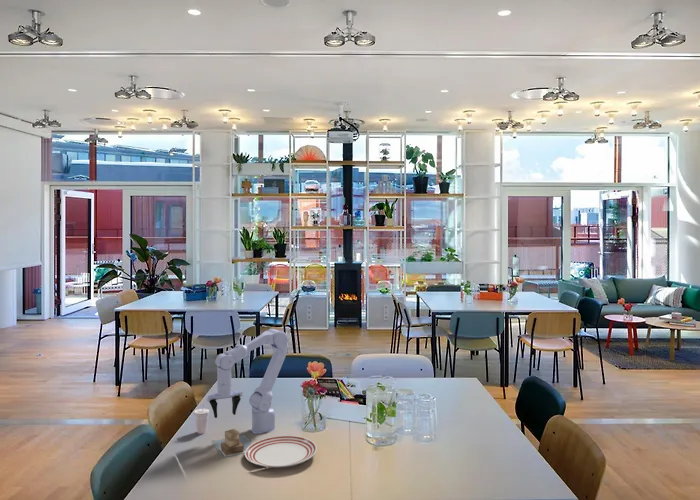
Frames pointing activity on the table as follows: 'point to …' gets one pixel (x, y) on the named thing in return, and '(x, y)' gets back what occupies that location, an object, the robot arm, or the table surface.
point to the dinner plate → (280, 451)
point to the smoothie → (201, 419)
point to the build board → (244, 441)
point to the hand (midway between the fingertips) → (224, 415)
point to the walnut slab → (232, 448)
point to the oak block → (232, 437)
